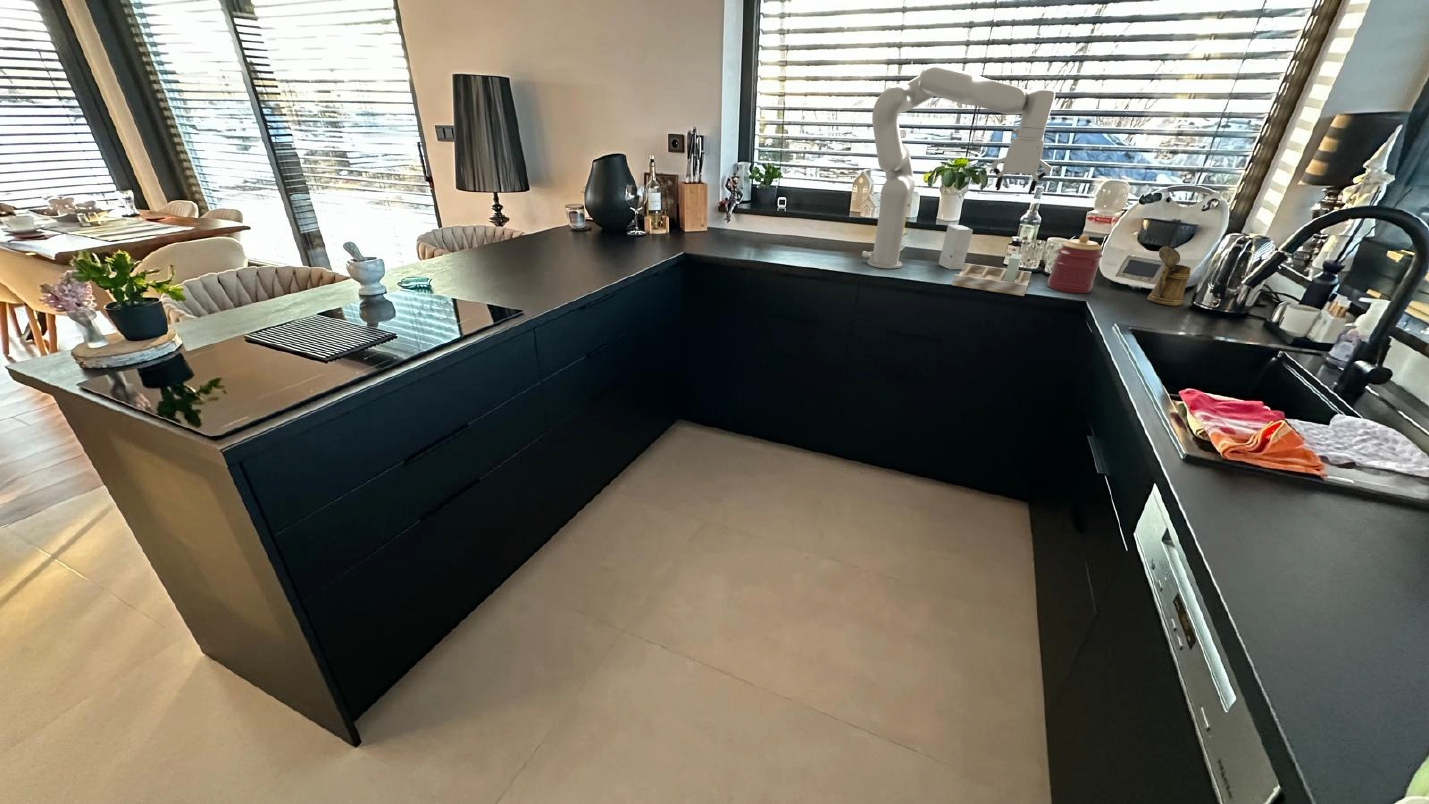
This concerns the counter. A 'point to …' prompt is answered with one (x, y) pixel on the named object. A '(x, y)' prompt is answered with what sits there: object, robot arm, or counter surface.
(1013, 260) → the grey-green flat block
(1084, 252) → the canister
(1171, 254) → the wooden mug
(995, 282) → the divided tray
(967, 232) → the skincare box
